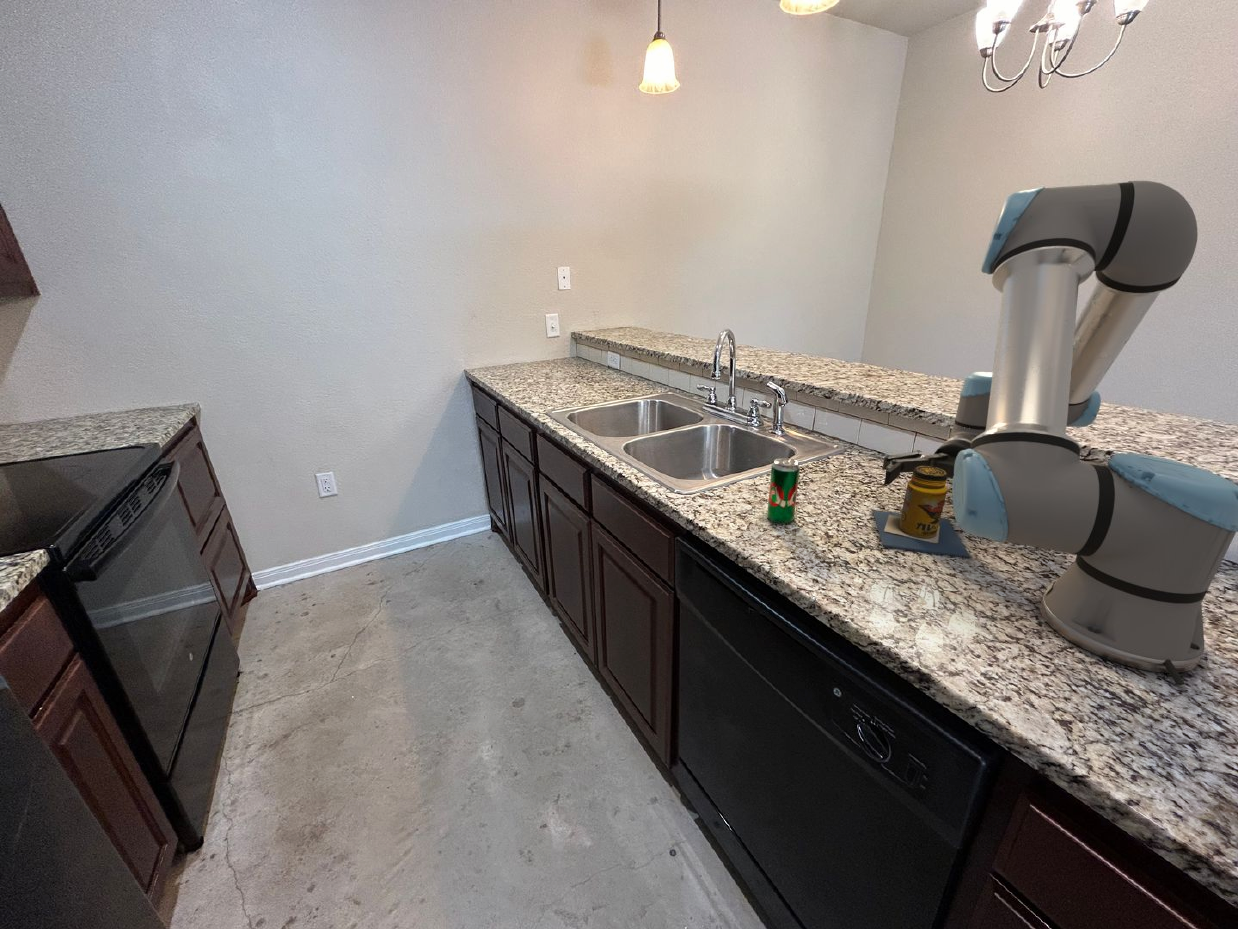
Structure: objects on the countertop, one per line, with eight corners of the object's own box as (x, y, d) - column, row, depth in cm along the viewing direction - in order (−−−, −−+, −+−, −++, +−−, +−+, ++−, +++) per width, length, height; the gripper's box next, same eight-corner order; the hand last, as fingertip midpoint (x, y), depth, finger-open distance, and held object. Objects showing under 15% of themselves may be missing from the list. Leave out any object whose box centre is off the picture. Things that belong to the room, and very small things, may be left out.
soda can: (790, 513, 100) (797, 457, 95) (796, 525, 95) (803, 466, 91) (764, 512, 100) (769, 456, 96) (769, 524, 95) (774, 466, 91)
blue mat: (969, 558, 83) (970, 556, 83) (882, 546, 87) (883, 544, 87) (947, 520, 95) (948, 518, 95) (872, 512, 99) (873, 510, 99)
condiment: (937, 544, 86) (952, 480, 82) (883, 532, 91) (895, 471, 87) (939, 527, 92) (954, 466, 88) (888, 516, 97) (899, 458, 92)
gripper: (1029, 489, 96) (1008, 529, 82) (890, 459, 112) (853, 488, 98) (1040, 453, 93) (1020, 487, 79) (896, 427, 109) (859, 452, 95)
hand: (928, 488), depth 89 cm, fingers open, 13 cm apart
